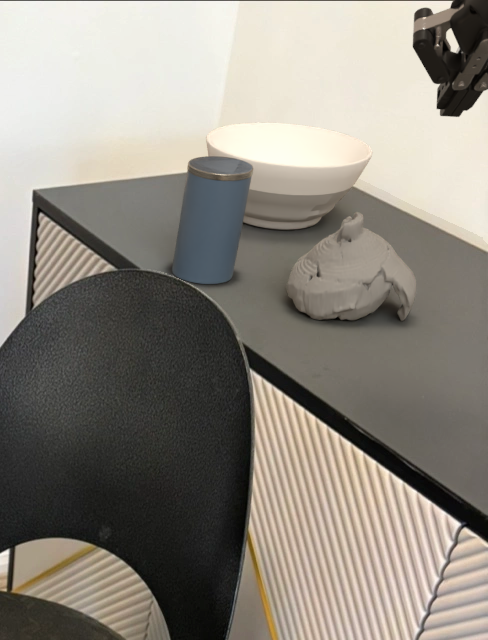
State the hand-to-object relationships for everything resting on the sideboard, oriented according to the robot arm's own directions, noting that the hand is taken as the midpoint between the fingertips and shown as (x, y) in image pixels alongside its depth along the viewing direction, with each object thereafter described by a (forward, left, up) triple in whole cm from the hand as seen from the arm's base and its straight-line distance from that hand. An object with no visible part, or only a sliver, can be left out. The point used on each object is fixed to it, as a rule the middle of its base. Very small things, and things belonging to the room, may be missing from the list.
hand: (448, 105), depth 90 cm
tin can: (+1, -26, -22) cm, 34 cm away
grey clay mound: (-7, -12, -22) cm, 26 cm away
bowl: (-19, -39, -22) cm, 49 cm away
